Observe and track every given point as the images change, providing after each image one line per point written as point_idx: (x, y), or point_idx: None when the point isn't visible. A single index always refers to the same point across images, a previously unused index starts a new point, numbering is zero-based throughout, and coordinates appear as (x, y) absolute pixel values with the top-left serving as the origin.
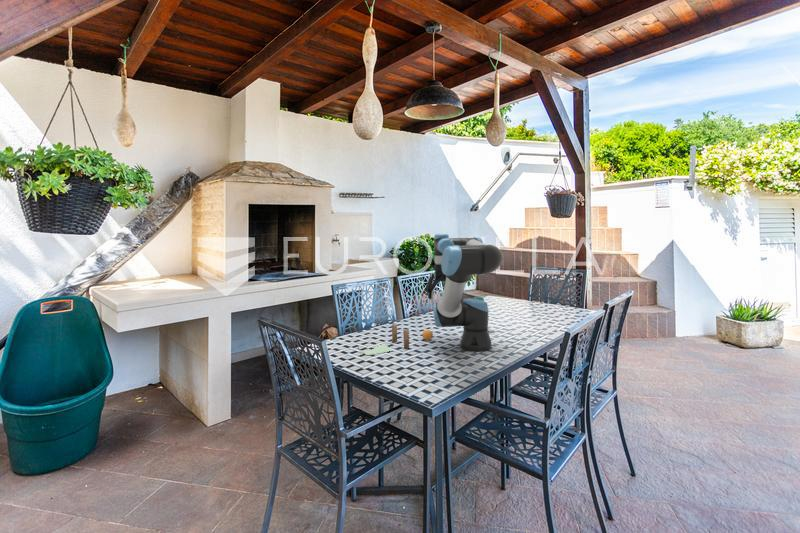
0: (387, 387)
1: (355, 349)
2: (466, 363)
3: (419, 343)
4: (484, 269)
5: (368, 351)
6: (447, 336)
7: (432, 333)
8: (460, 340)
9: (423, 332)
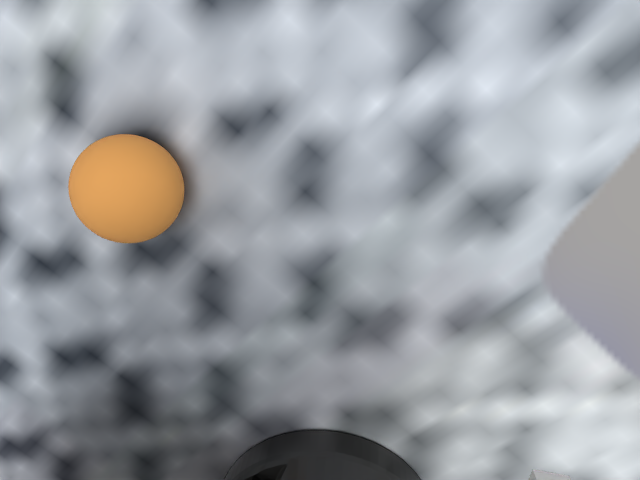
0: None
1: None
2: None
3: (37, 202)
4: None
5: None
6: (377, 216)
7: (164, 227)
8: (249, 477)
9: (69, 182)
